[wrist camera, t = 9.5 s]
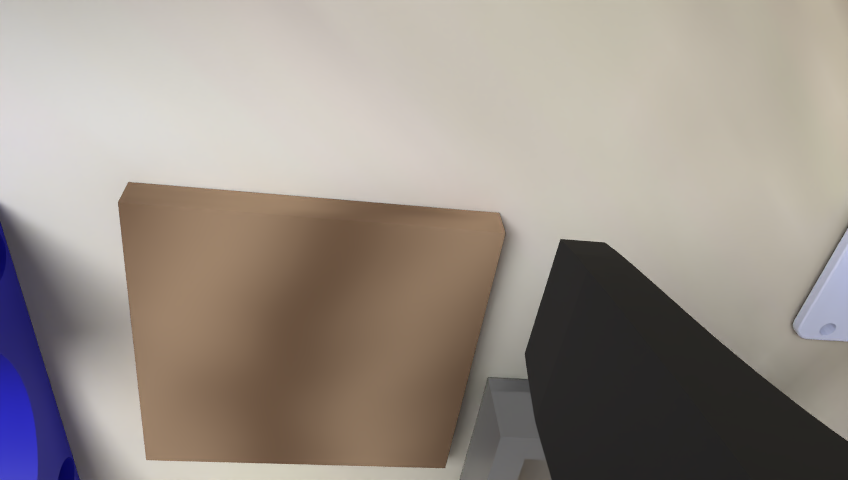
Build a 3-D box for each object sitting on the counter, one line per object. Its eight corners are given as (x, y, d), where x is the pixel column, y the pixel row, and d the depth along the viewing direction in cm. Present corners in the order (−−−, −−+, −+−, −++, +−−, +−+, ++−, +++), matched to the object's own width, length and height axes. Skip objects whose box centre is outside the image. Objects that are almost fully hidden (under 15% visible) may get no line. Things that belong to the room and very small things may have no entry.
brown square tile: (499, 213, 20) (505, 232, 19) (441, 445, 26) (444, 468, 25) (128, 182, 19) (118, 202, 18) (153, 435, 24) (146, 460, 23)
